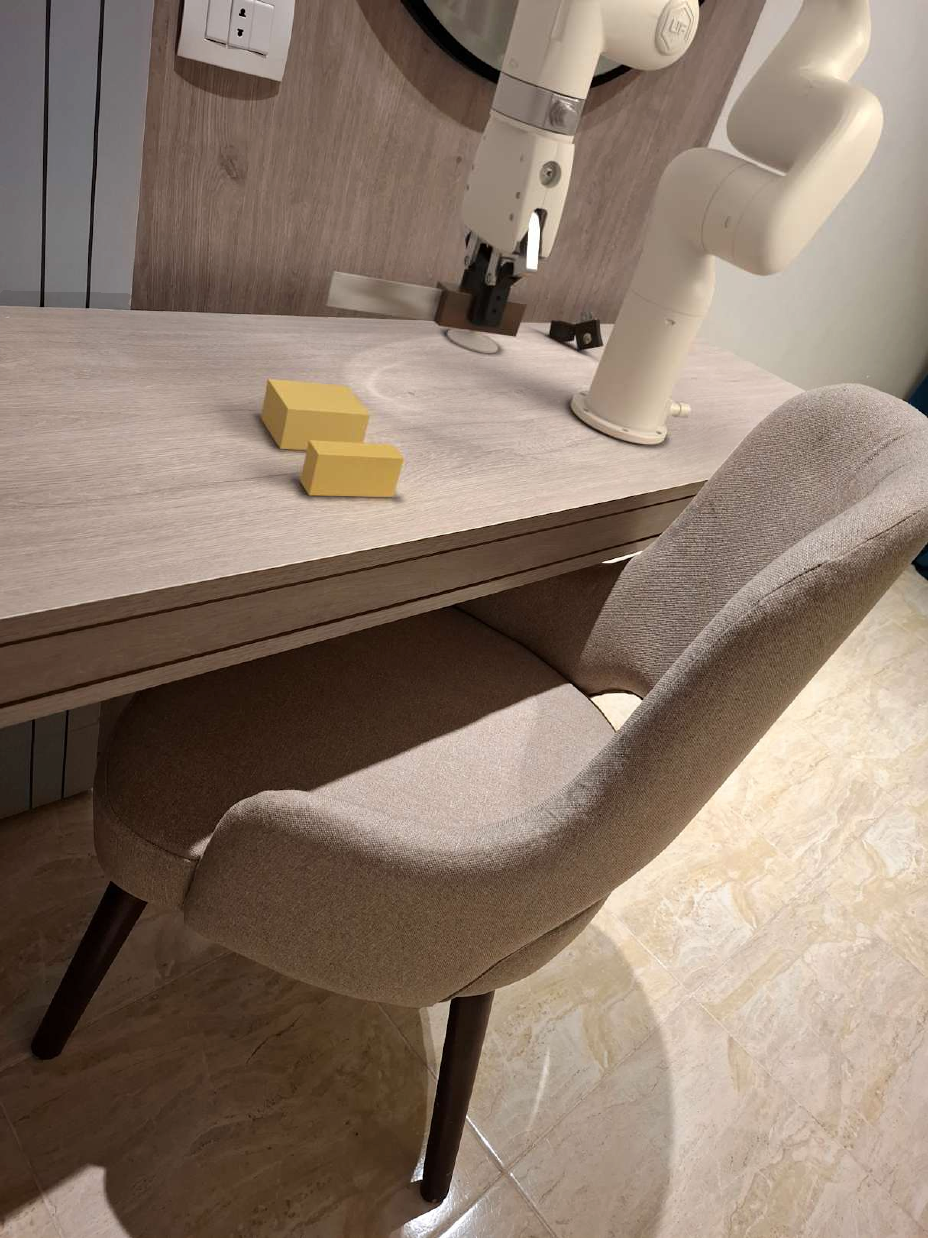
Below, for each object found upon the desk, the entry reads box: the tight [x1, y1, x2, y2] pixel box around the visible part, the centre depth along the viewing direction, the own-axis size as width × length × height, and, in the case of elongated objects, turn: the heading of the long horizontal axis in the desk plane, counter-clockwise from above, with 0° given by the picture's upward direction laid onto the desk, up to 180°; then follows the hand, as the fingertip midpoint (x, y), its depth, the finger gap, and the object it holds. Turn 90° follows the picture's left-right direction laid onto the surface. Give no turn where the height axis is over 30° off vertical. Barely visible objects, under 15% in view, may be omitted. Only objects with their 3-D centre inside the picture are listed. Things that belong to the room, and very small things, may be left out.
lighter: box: [548, 311, 604, 352], centre depth 134 cm, size 8×2×5 cm
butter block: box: [260, 378, 371, 451], centre depth 84 cm, size 8×6×4 cm
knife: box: [324, 270, 528, 338], centre depth 84 cm, size 20×2×3 cm, turn 118°
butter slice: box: [299, 440, 405, 498], centre depth 78 cm, size 8×2×4 cm, turn 117°
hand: (476, 317), depth 87 cm, fingers closed on knife, 2 cm apart
